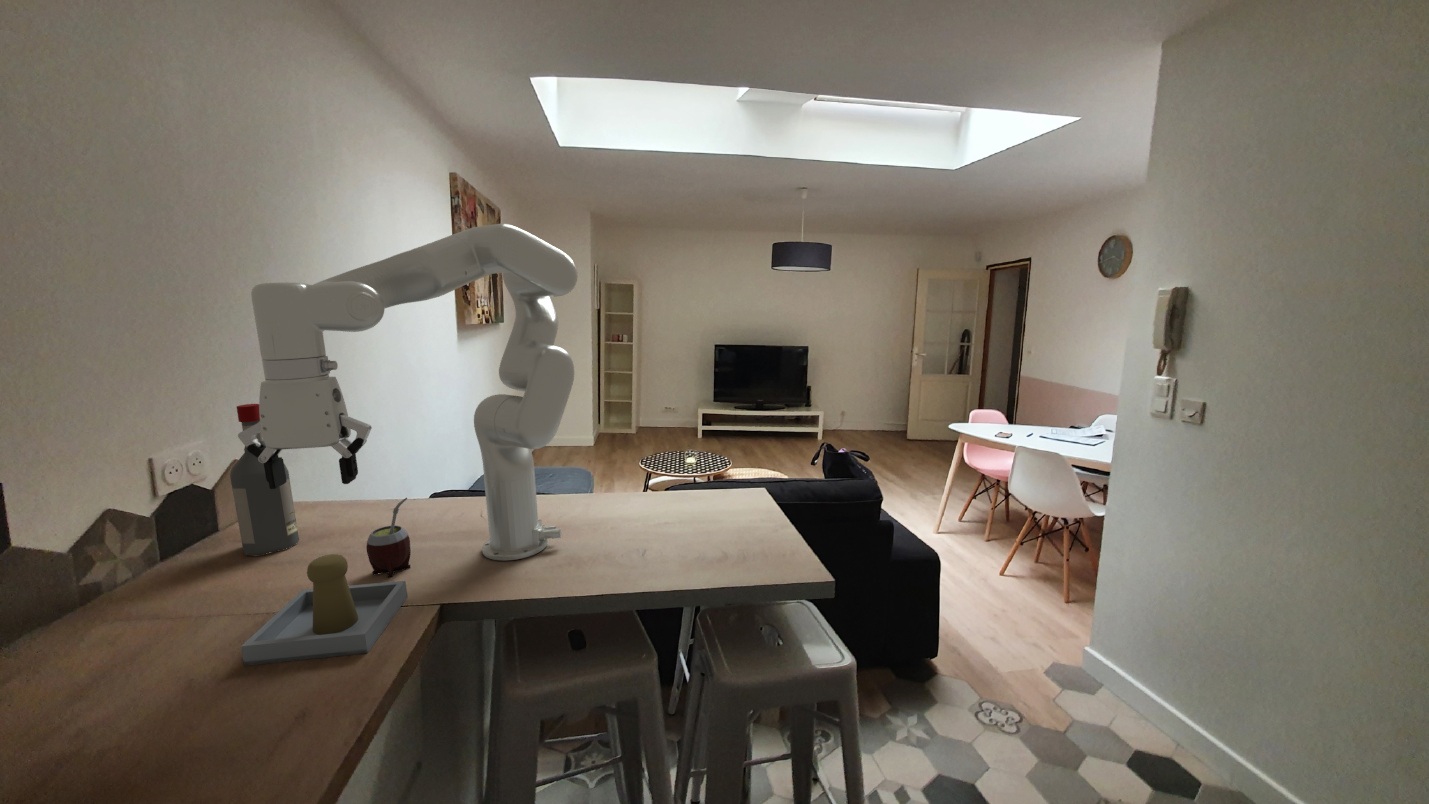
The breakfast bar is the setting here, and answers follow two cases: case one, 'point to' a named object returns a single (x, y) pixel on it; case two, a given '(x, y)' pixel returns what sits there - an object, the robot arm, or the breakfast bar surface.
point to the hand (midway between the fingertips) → (314, 483)
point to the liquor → (261, 499)
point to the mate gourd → (389, 548)
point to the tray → (296, 640)
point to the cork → (331, 595)
